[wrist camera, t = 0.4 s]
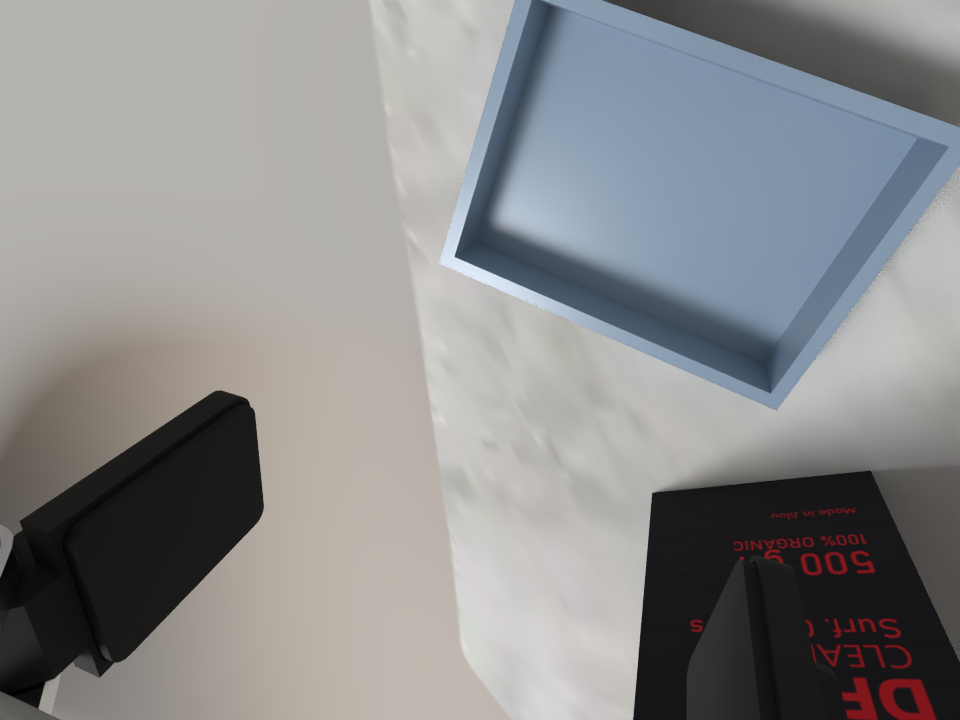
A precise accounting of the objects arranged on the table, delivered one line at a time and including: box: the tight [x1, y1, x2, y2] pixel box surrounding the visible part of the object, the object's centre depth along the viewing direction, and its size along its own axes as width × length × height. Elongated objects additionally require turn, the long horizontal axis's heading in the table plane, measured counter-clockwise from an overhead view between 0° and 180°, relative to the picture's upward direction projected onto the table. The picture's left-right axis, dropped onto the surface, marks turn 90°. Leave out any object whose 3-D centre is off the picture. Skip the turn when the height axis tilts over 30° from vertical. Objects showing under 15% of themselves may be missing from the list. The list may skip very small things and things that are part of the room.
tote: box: [439, 0, 960, 410], centre depth 32 cm, size 16×22×5 cm
